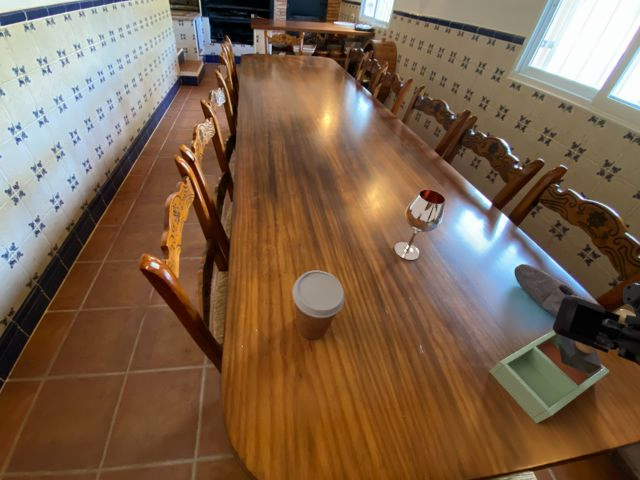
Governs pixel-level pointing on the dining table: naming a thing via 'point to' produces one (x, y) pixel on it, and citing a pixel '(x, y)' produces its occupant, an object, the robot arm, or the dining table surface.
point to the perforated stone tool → (543, 287)
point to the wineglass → (421, 219)
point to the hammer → (583, 350)
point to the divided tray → (542, 378)
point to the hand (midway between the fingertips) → (596, 330)
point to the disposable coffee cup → (316, 302)
